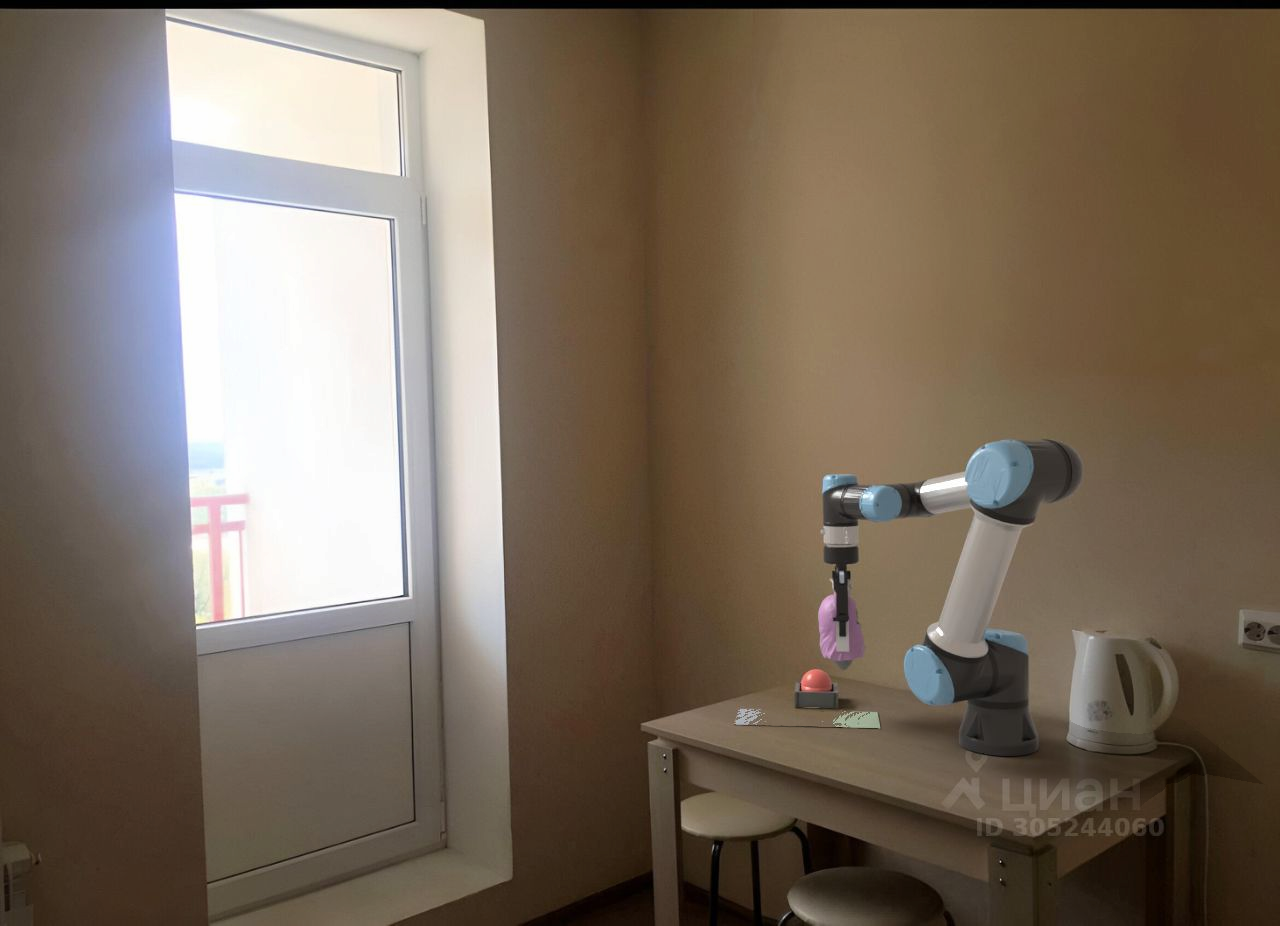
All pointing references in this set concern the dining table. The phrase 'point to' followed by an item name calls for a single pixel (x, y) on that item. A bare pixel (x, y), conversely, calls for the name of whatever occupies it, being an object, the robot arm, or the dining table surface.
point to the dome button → (816, 681)
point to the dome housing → (816, 697)
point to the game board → (864, 722)
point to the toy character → (829, 631)
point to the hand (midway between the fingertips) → (842, 646)
